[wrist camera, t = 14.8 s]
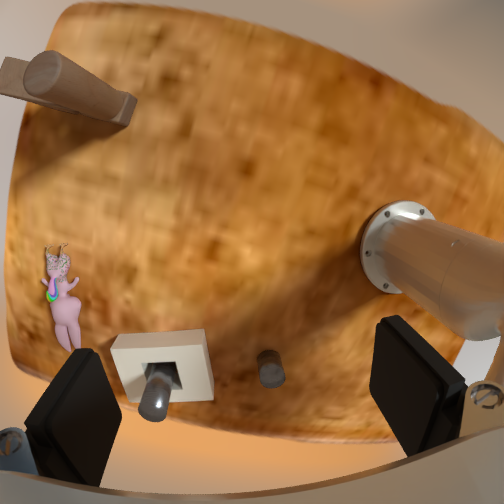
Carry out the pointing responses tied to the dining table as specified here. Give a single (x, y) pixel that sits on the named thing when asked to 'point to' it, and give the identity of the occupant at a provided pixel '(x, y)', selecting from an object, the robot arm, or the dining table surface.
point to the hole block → (165, 350)
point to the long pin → (157, 391)
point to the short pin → (270, 369)
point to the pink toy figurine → (63, 299)
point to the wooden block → (64, 88)
